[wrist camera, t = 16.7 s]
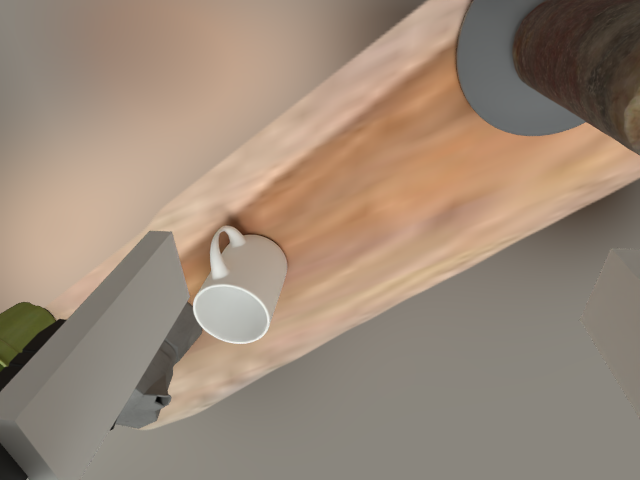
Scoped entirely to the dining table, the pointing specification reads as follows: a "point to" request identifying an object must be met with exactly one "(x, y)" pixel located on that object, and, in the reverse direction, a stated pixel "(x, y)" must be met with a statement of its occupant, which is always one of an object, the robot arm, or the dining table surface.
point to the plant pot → (20, 329)
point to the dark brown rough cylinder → (586, 61)
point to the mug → (240, 287)
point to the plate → (503, 72)
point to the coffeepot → (160, 373)
